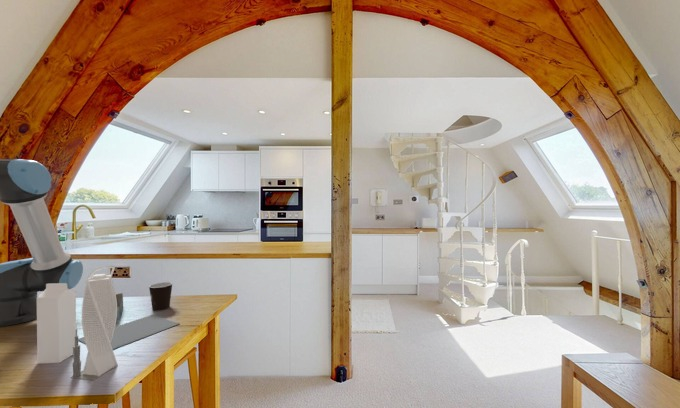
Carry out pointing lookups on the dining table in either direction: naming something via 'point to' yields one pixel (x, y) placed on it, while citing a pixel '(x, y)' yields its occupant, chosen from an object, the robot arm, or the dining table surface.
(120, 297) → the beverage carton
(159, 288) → the coffee mug
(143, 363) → the dining table surface
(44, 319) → the milk
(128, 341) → the mat
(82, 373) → the skyscraper
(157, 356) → the dining table surface
